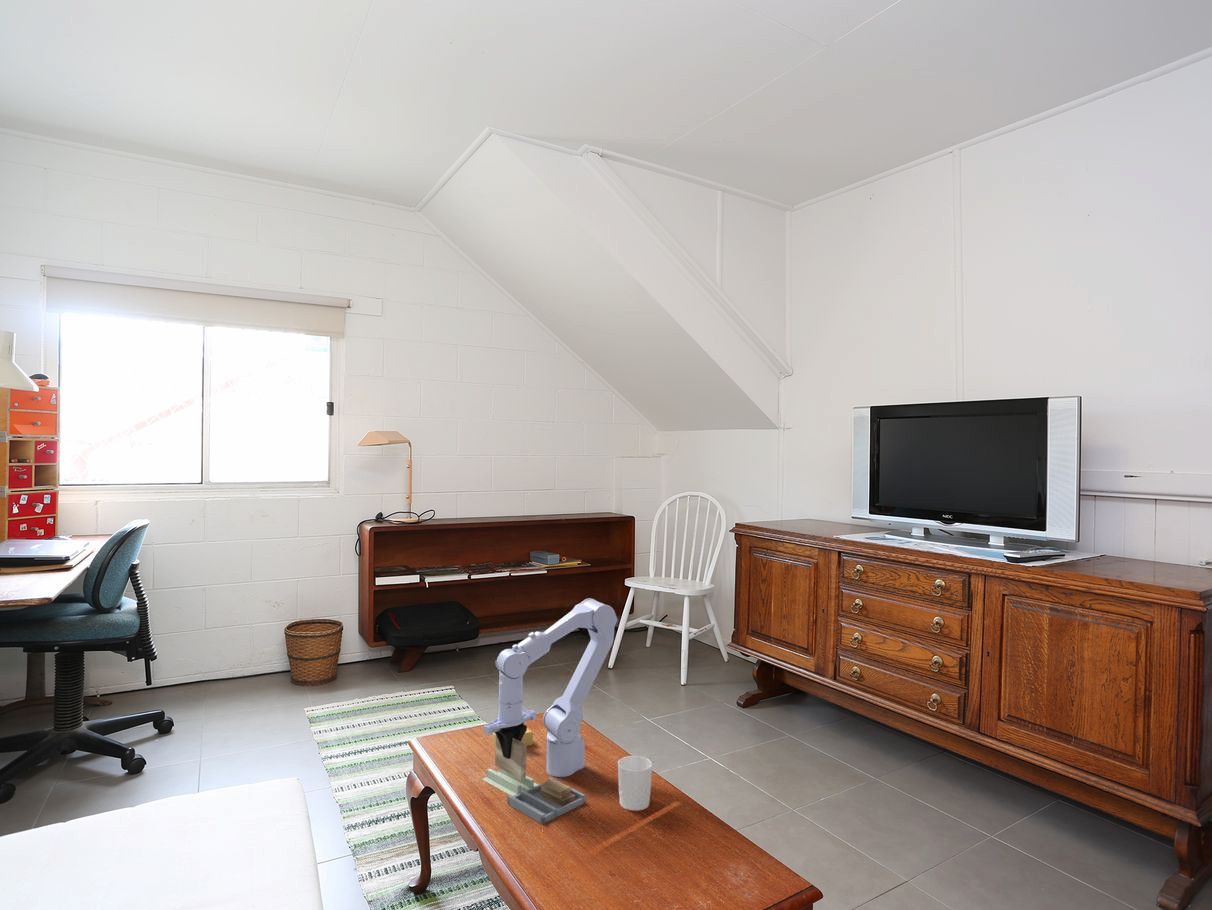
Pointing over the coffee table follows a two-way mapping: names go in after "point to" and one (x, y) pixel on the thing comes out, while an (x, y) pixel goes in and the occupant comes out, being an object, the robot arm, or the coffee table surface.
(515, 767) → the birch sheet
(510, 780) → the stand
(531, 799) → the tray
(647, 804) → the white cup
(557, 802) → the offcut lower
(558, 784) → the offcut upper
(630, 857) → the coffee table surface
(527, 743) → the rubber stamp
